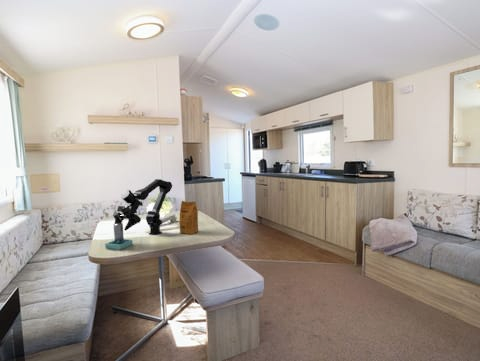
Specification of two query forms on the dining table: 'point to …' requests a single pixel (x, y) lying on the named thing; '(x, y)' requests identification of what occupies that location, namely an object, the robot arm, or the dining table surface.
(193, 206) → the coffee package
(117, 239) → the block
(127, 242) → the tray
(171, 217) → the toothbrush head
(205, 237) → the dining table surface
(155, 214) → the robot arm
